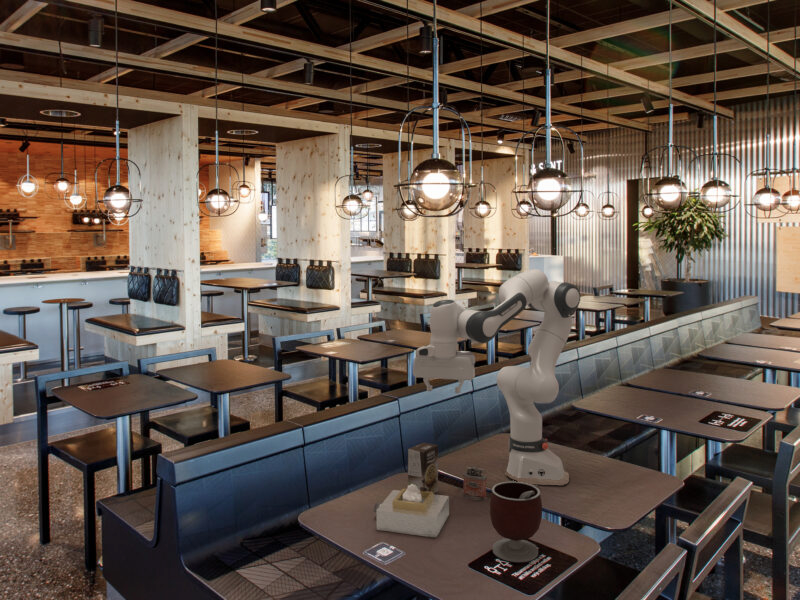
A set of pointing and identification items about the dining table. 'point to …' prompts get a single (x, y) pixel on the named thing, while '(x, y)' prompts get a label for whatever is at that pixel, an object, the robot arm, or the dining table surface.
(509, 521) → the mate gourd
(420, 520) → the white box
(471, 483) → the lighter
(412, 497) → the roll
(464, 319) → the robot arm
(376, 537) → the dining table surface
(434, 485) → the coffee box
